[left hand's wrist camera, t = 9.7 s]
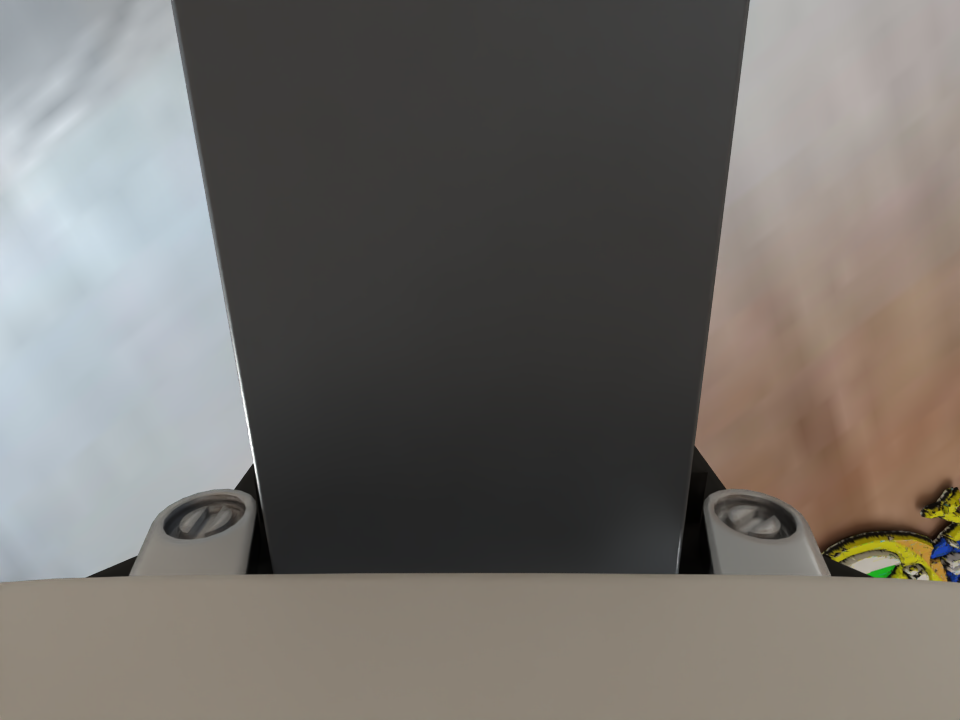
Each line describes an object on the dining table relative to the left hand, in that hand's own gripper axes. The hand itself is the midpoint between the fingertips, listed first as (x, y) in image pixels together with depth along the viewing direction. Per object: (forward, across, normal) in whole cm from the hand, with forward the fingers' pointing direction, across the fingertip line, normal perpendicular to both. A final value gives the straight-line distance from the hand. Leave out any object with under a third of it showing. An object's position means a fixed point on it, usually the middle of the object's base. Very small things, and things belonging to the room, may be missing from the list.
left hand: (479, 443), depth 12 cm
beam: (+3, 0, -24) cm, 24 cm away
